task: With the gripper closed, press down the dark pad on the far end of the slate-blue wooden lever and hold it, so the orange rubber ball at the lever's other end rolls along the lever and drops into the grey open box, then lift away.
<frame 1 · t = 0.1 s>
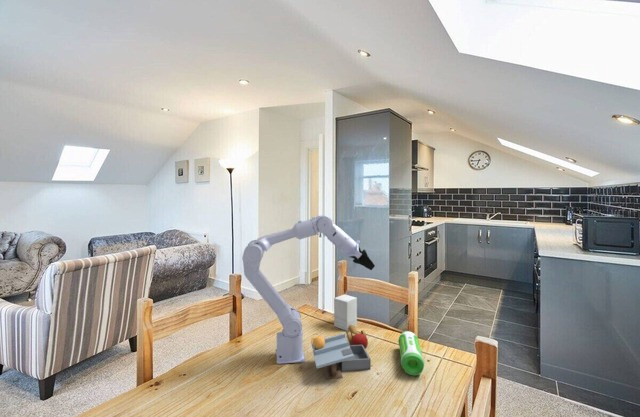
hand: (369, 265, 107), 32 cm above the table, tool tilted 50°, fingers open, 7 cm apart
supplement box: (345, 326, 130), on the table
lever: (331, 349, 97), point 7 cm above the table, hinge at -12.0°, touching ball
ball: (318, 342, 100), point 8 cm above the table, tilted 9°, touching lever
speaker: (410, 362, 102), on the table
stand: (331, 369, 98), on the table
grey open box: (352, 362, 102), on the table
kendama: (355, 342, 116), on the table
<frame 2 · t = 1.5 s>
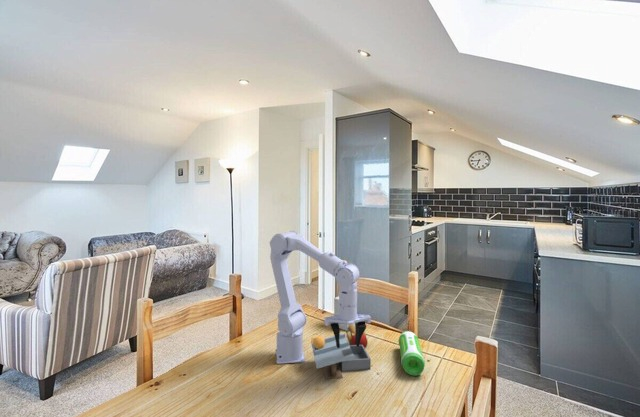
hand: (347, 345, 94), 9 cm above the table, tool pointing down, fingers open, 6 cm apart
nothing on the table moved.
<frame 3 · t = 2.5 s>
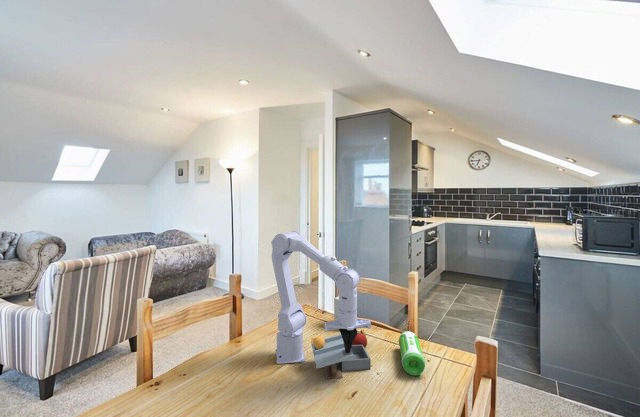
hand: (347, 351, 94), 8 cm above the table, tool pointing down, fingers closed, pressing on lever
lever: (331, 349, 97), point 7 cm above the table, hinge at -12.0°, touching ball, gripper
everything else where it was.
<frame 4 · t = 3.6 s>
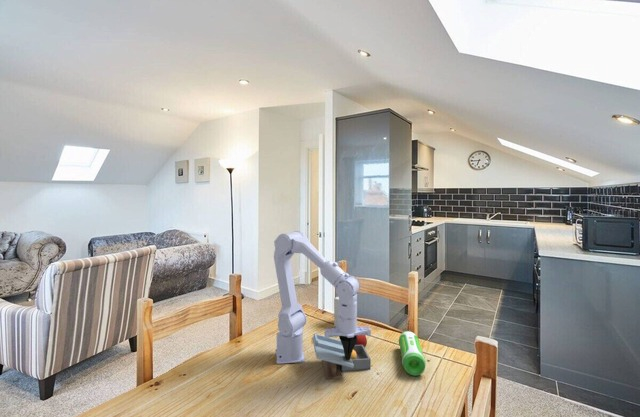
hand: (347, 358, 95), 5 cm above the table, tool pointing down, fingers closed
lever: (332, 349, 97), point 7 cm above the table, hinge at 18.5°, touching ball
ball: (350, 355, 101), point 2 cm above the table, tilted 64°, touching grey open box, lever
everything else where it was.
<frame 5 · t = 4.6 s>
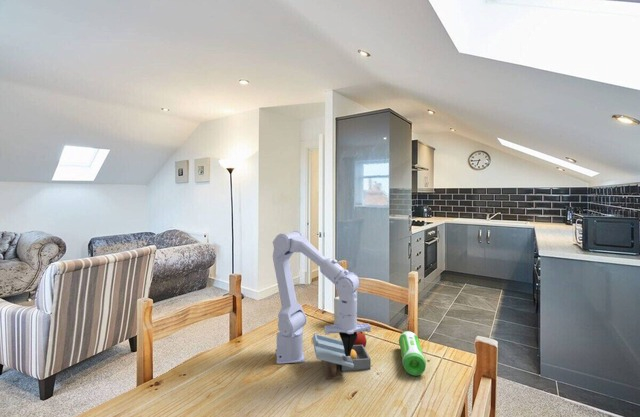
hand: (347, 354, 94), 7 cm above the table, tool pointing down, fingers closed
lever: (332, 349, 97), point 7 cm above the table, hinge at 18.0°
ball: (351, 355, 101), point 2 cm above the table, tilted 63°, touching grey open box
everything else where it was.
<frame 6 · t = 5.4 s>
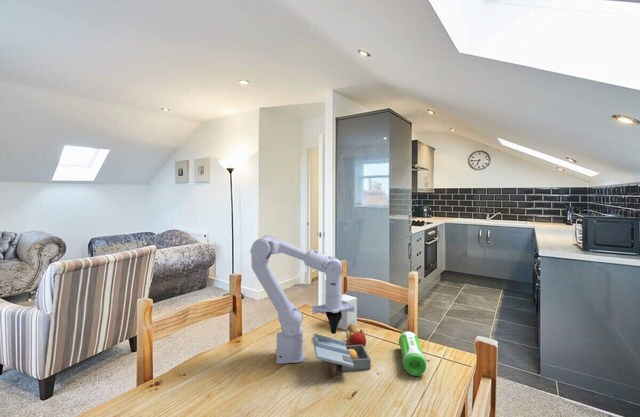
hand: (333, 332, 103), 9 cm above the table, tool pointing down, fingers closed
nothing on the table moved.
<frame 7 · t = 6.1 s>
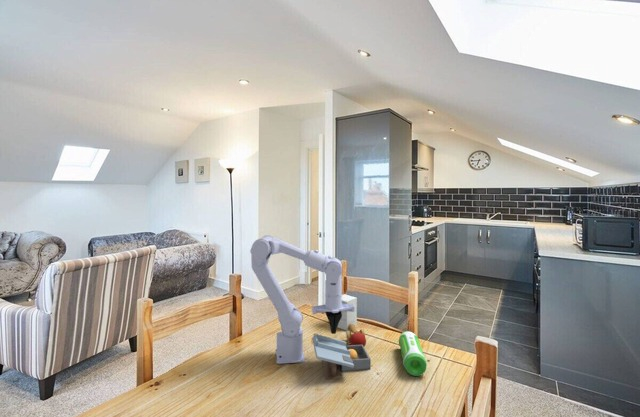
hand: (333, 332, 103), 9 cm above the table, tool pointing down, fingers closed
nothing on the table moved.
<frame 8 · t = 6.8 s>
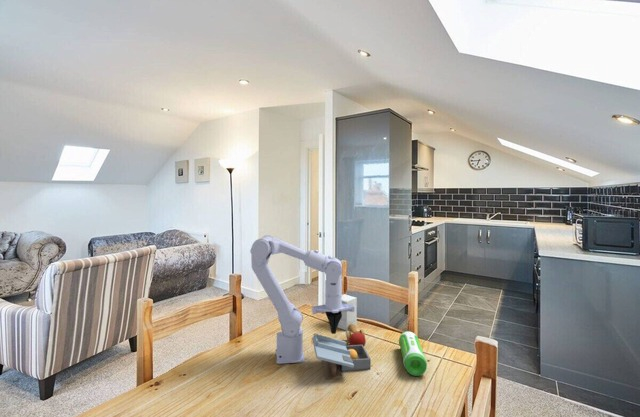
hand: (333, 332, 103), 9 cm above the table, tool pointing down, fingers closed
at the end: ball 0.5 cm off-centre on the grey open box, point 2.5 cm above the grey open box's base; ball moved 12.2 cm from its start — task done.
